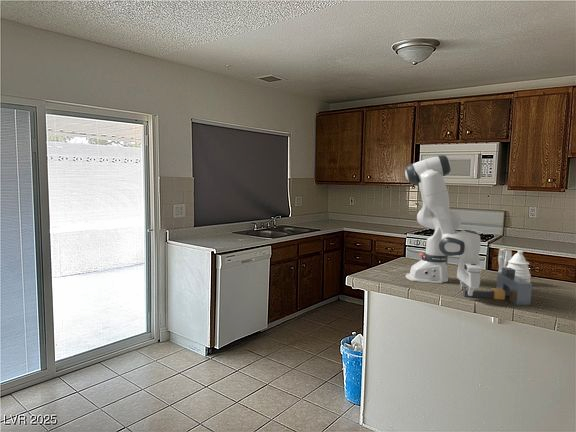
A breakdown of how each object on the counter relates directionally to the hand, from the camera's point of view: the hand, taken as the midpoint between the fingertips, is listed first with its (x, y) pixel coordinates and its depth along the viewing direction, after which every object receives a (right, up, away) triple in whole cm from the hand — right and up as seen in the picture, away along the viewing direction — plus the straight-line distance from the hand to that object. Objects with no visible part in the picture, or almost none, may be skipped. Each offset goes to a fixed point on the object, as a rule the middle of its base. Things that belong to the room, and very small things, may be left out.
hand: (466, 292), depth 196 cm
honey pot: (+40, 0, +29) cm, 49 cm away
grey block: (+21, -3, -1) cm, 22 cm away
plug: (+8, -2, 0) cm, 8 cm away
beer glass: (+42, +2, +47) cm, 63 cm away
